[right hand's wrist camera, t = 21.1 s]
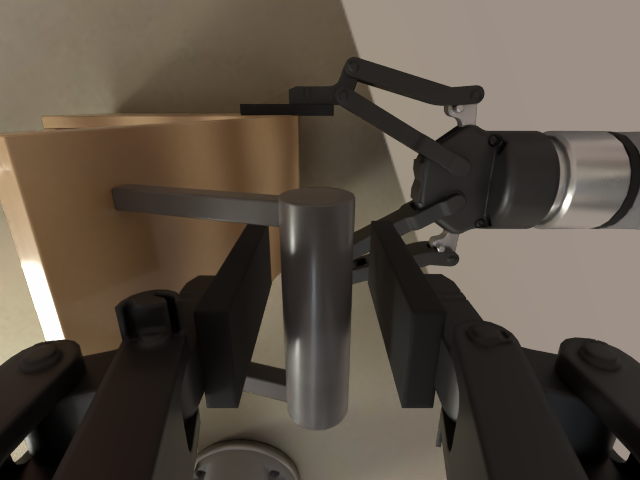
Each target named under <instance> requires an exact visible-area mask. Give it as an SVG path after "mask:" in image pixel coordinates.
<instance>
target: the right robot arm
mask: <svg viewBox="0 0 640 480" xmlns="http://www.w3.org/2000/svg"><path fill="white" fill-rule="evenodd" d="M271 285H272V276H271V257H270V238H269V226H264V225H254V224H247V225H246V227H245V229H244V230H243V232H242V233H241V235H240V237H239V238H238V240H237V241H236V243H235V245H234V246H233V248H232V250H231V251H230V253H229V254H228V256H227V258H226V259H225V261H224V263H223V264H222V266H221V267H220V269H219V271H218V272H217V274H216V275H198V276H197V277H195V278H194V279H192V280H190V281H189V282H187V283H186V284H185V285H184V287H183V288H182V289H181V291H180V294H178V293H177V292H176V291H171V290H167V289H155V290H149V291H143V292H140V293H137V294H134V295H131V296H129V297H128V298H126V299H124V300H122V301H121V302H120V303H119V304H118V305H117V306H116V307H115V312H116V316H117V320H118V324H119V329H120V333H121V337H122V342H121V344H120V346H119V348H118V349H115V350H111V351H107V352H102V353H96V354H91V355H86V356H83V355H82V351H81V348H80V345H79V344H78V343H77V342H75V341H73V340H67V339H61V340H50V341H45V342H44V343H43V342H41V343H38V344H35V345H33V346H32V347H29V348H27V349H25V350H22V351H21V352H19V353H18V354H16V355H14V356H13V357H11V358H10V359H8V360H7V361H6V362H5V363H3V364H2V365H1V366H0V480H193V476H194V469H195V461H196V453H197V445H198V438H199V430H200V415H199V409H198V406H199V403H200V401H201V398H202V396H203V394H204V391H205V397H206V404H207V408H238V406H239V402H240V399H241V395H242V391H243V388H244V384H245V380H246V377H247V373H248V369H249V366H250V362H251V358H252V355H253V351H254V347H255V343H256V340H257V336H258V332H259V329H260V325H261V321H262V318H263V314H264V310H265V307H266V303H267V299H268V296H269V292H270V288H271ZM368 285H369V288H370V292H371V296H372V299H373V303H374V307H375V310H376V314H377V318H378V321H379V325H380V329H381V332H382V336H383V340H384V343H385V347H386V351H387V355H388V358H389V362H390V366H391V369H392V373H393V377H394V380H395V384H396V388H397V391H398V395H399V399H400V402H401V406H402V408H433V404H434V397H435V390H436V392H437V394H438V397H439V399H440V401H441V404H442V409H441V415H440V421H439V428H438V434H437V441H436V446H437V447H441V442H442V445H443V452H444V460H445V468H446V476H447V480H640V363H638V362H637V361H636V360H635V359H633V358H632V357H631V356H629V355H627V354H626V353H624V352H623V351H621V350H619V349H618V348H615V347H613V346H611V345H608V344H607V343H605V342H602V341H598V340H597V341H596V340H595V339H589V338H570V339H566V340H564V341H563V342H562V343H561V344H560V348H559V351H558V355H557V354H552V353H547V352H542V351H536V350H531V349H527V348H523V347H521V346H520V344H519V342H518V340H517V339H516V338H515V336H514V335H513V334H512V333H511V332H509V331H508V330H506V329H505V328H503V327H501V326H499V325H496V324H494V323H491V322H486V321H483V320H482V318H481V317H480V316H479V314H478V313H477V312H476V310H475V309H474V308H473V306H472V305H471V304H470V302H469V301H468V300H466V297H465V296H464V295H463V293H462V292H460V289H459V288H458V287H457V285H456V284H455V283H454V282H453V281H452V280H450V279H449V278H447V277H445V276H444V275H442V274H423V272H422V271H421V269H420V267H419V266H418V264H417V263H416V261H415V259H414V258H413V256H412V254H411V253H410V251H409V250H408V248H407V246H406V245H405V243H404V241H403V240H402V238H401V237H400V235H399V233H398V232H397V230H396V229H395V227H394V225H393V224H392V222H391V221H371V238H370V257H369V276H368ZM616 438H618V439H619V441H620V442H621V443H622V444H623V445H624V446H625V447H626V448H627V449H628V450H629V451H630V452H631V453H630V455H629V457H628V459H627V461H625V460H623V459H622V458H621V457H620V456H619V455H618V454H617V453H616V452H615V451H614V450H613V445H614V443H615V440H616ZM23 440H25V443H26V445H27V448H28V451H27V452H26V453H25V454H24V455H23V456H22V457H21V458H20V459H19V460H17V461H16V462H14V461H13V460H12V457H11V455H10V454H11V453H12V452H13V451H14V450H15V449H16V448H17V447H18V445H19V444H20V443H21V442H22V441H23Z"/></svg>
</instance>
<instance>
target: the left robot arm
mask: <svg viewBox="0 0 640 480" xmlns="http://www.w3.org/2000/svg"><path fill="white" fill-rule="evenodd" d="M357 82H360V83H364V84H367V85H370V86H373V87H377V88H380V89H383V90H386V91H390V92H393V93H396V94H399V95H402V96H406V97H409V98H412V99H415V100H419V101H422V102H425V103H428V104H433V105H440V106H444V112H445V114H446V115H447V116H450V117H454V118H455V119H456V120H457V123H458V126H456V127H455V128H453V129H452V130H450V131H449V132H447V133H446V134H444V135H443V136H441V137H440V138H439V139H437V140H436V141H434V140H433V139H431V138H429V137H428V136H426V135H424V134H422V133H420V132H419V131H417V130H416V129H414V128H412V127H411V126H409V125H407V124H406V123H404V122H403V121H401V120H399V119H398V118H396V117H395V116H393V115H391V114H390V113H388V112H386V111H385V110H383V109H382V108H380V107H378V106H377V105H375V104H374V103H372V102H370V101H369V100H367V99H366V98H364V97H362V96H361V95H359V94H357V93H356V92H354V89H355V87H356V84H357ZM483 98H484V90H483V88H482V87H481V86H477V85H475V86H463V87H449V86H446V85H443V84H439V83H436V82H433V81H430V80H427V79H423V78H420V77H417V76H414V75H411V74H408V73H404V72H401V71H398V70H395V69H392V68H389V67H385V66H382V65H379V64H376V63H373V62H369V61H366V60H363V59H360V58H357V57H352V58H349V59H348V60H347V62H346V63H345V65H344V67H343V70H342V73H341V76H340V79H339V81H338V83H337V84H335V85H334V86H330V87H294V88H291V89H289V104H240V111H241V115H292V116H334V105H340V106H342V107H343V108H345V109H347V110H348V111H350V112H351V113H353V114H355V115H356V116H358V117H360V118H361V119H363V120H365V121H366V122H368V123H370V124H371V125H373V126H375V127H376V128H378V129H380V130H381V131H383V132H384V133H386V134H388V135H389V136H391V137H393V138H394V139H396V140H398V141H399V142H401V143H403V144H404V145H406V146H407V147H409V148H411V149H412V150H414V151H415V152H417V153H419V154H418V156H417V158H416V159H414V166H413V170H414V176H415V180H414V182H413V185H412V188H411V198H412V199H413V200H412V201H410V202H408V203H406V204H404V205H402V206H401V207H400V209H399V210H397V211H395V212H393V213H391V214H389V215H387V216H385V217H383V218H381V219H379V220H377V221H391V222H392V224H393V225H394V227H395V229H396V230H397V232H398V233H399V235H400V236H402V235H404V234H406V233H408V232H410V231H412V230H419V229H421V228H423V227H425V226H427V225H429V224H431V223H433V222H435V223H436V224H437V225H439V226H440V227H442V228H443V229H444V230H443V232H442V233H441V234H440V235H437V236H432V237H431V238H430V239H429V241H421V242H415V243H411V244H407V245H406V246H407V248H408V250H409V251H410V253H411V254H412V256H413V258H414V259H415V261H416V263H417V264H418V266H419V267H424V266H428V265H439V266H454V265H456V264H457V263H458V261H459V257H458V255H457V254H456V253H455V250H456V245H457V241H458V237H459V234H461V233H463V232H465V231H467V230H470V229H474V228H482V229H528V228H532V227H534V228H538V229H578V228H589V229H600V228H603V229H638V230H640V132H606V131H547V132H544V133H541V132H538V131H485V130H483V129H481V128H479V127H478V126H476V112H477V103H479V102H480V101H482V99H483ZM370 238H371V224H370V225H368V226H366V227H364V228H362V229H360V230H358V231H356V232H354V248H353V277H352V284H354V283H358V282H362V281H366V280H368V276H369V257H370V254H367V255H364V254H366V253H368V252H370ZM362 255H364V256H362ZM193 480H299V475H298V472H297V469H296V467H295V465H294V464H293V463H292V461H291V460H290V459H289V458H288V457H287V456H286V455H285V454H283V453H282V452H280V451H279V450H277V449H275V448H273V447H271V446H269V445H266V444H263V443H260V442H255V441H249V440H231V441H225V442H220V443H217V444H214V445H212V446H210V447H208V448H206V449H204V450H203V451H202V452H200V453H199V454H198V455H197V456H196V461H195V469H194V476H193Z"/></svg>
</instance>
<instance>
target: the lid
mask: <svg viewBox="0 0 640 480" xmlns="http://www.w3.org/2000/svg"><path fill="white" fill-rule="evenodd" d="M0 201H1V204H2V207H3V210H4V213H5V216H6V219H7V223H8V226H9V229H10V232H11V235H12V238H13V241H14V244H15V247H16V250H17V253H18V256H19V259H20V262H21V265H22V268H23V271H24V275H25V278H26V281H27V284H28V287H29V290H30V293H31V296H32V299H33V302H34V305H35V308H36V311H37V314H38V317H39V320H40V323H41V327H42V330H43V333H44V336H45V339H46V341H50V340H61V339H67V340H73V341H75V342H77V343H78V344H79V345H80V348H81V351H82V355H83V356H86V355H91V354H96V353H102V352H107V351H111V350H115V349H118V348H119V346H120V344H121V342H122V337H121V333H120V329H119V324H118V320H117V316H116V312H115V307H116V306H117V305H118V304H119V303H120V302H121V301H122V300H124V299H126V298H128V297H129V296H131V295H134V294H137V293H140V292H143V291H149V290H155V289H167V290H171V291H176V292H177V293H178V294H180V291H181V289H182V288H183V287H184V285H185V284H186V283H187V282H189V281H190V280H192V279H194V278H195V277H197V276H198V275H216V274H217V272H218V271H219V269H220V267H221V266H222V264H223V263H224V261H225V259H226V258H227V256H228V254H229V253H230V251H231V250H232V248H233V246H234V245H235V243H236V241H237V240H238V238H239V237H240V235H241V233H242V232H243V230H244V229H245V227H246V225H247V224H254V225H264V226H269V238H270V257H271V276H272V281H273V280H274V279H275V278H276V277H277V276H278V275H279V274H280V273H281V276H282V299H283V322H284V344H285V367H286V370H285V369H281V368H276V367H272V366H267V365H263V364H258V363H254V362H250V366H249V369H248V373H247V377H246V380H245V384H244V388H243V391H245V392H249V393H253V394H257V395H261V396H265V397H269V398H273V399H277V400H281V401H285V402H287V409H288V413H289V415H290V417H291V418H292V420H293V421H294V422H295V423H297V424H298V425H299V426H301V427H303V428H306V429H310V430H325V429H329V428H332V427H334V426H336V425H337V424H339V423H340V422H341V421H342V420H343V418H344V417H345V415H346V413H347V410H348V394H349V365H350V336H351V307H352V277H353V248H354V219H355V196H354V194H352V193H351V192H348V191H345V190H341V189H336V188H325V187H309V188H299V160H298V116H272V117H256V118H240V119H223V120H207V121H191V122H175V123H158V124H142V125H126V126H110V127H94V128H77V129H61V130H45V131H29V132H12V133H0Z"/></svg>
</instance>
